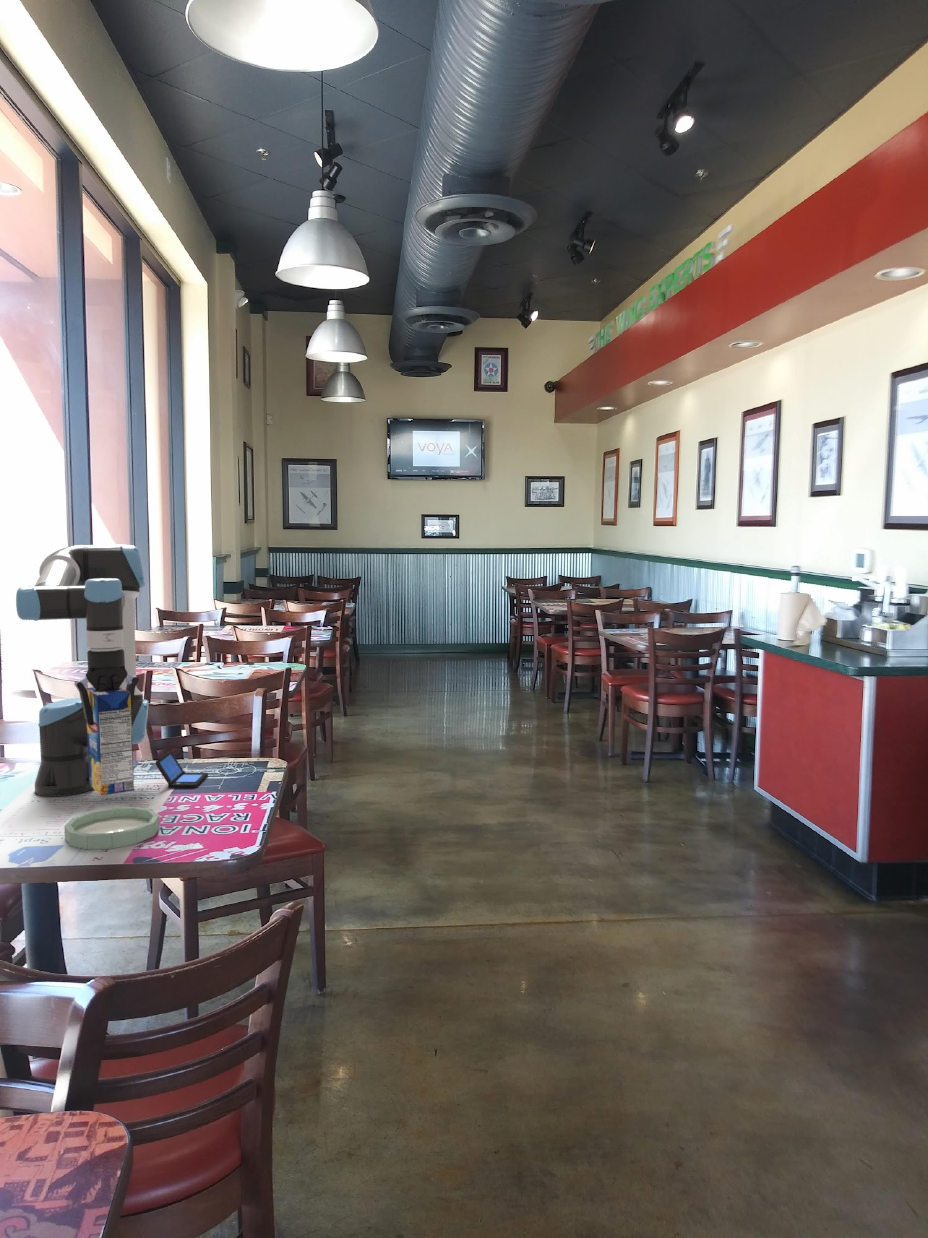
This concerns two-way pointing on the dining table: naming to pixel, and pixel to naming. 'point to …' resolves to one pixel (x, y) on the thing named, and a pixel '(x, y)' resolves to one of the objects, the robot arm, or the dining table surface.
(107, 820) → the round tray
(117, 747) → the beverage box
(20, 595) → the robot arm
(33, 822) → the dining table surface
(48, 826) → the dining table surface
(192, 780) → the handheld game console
